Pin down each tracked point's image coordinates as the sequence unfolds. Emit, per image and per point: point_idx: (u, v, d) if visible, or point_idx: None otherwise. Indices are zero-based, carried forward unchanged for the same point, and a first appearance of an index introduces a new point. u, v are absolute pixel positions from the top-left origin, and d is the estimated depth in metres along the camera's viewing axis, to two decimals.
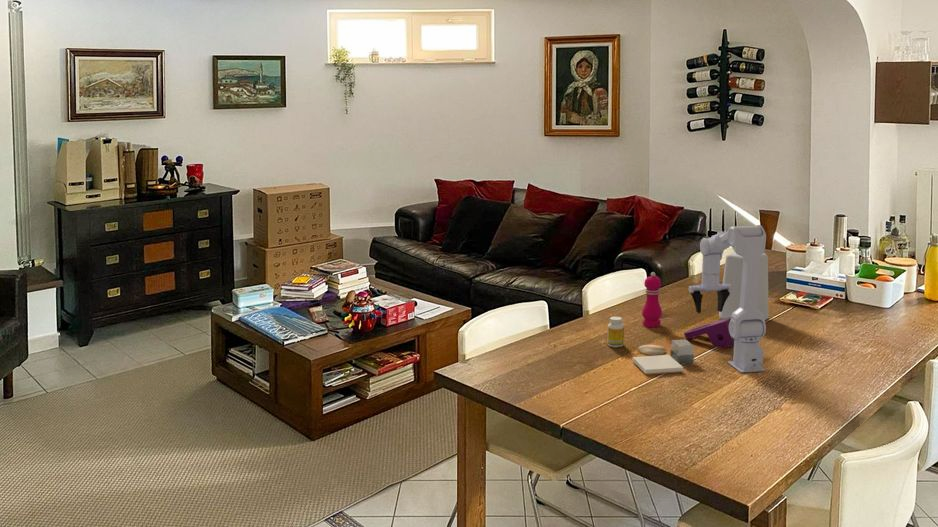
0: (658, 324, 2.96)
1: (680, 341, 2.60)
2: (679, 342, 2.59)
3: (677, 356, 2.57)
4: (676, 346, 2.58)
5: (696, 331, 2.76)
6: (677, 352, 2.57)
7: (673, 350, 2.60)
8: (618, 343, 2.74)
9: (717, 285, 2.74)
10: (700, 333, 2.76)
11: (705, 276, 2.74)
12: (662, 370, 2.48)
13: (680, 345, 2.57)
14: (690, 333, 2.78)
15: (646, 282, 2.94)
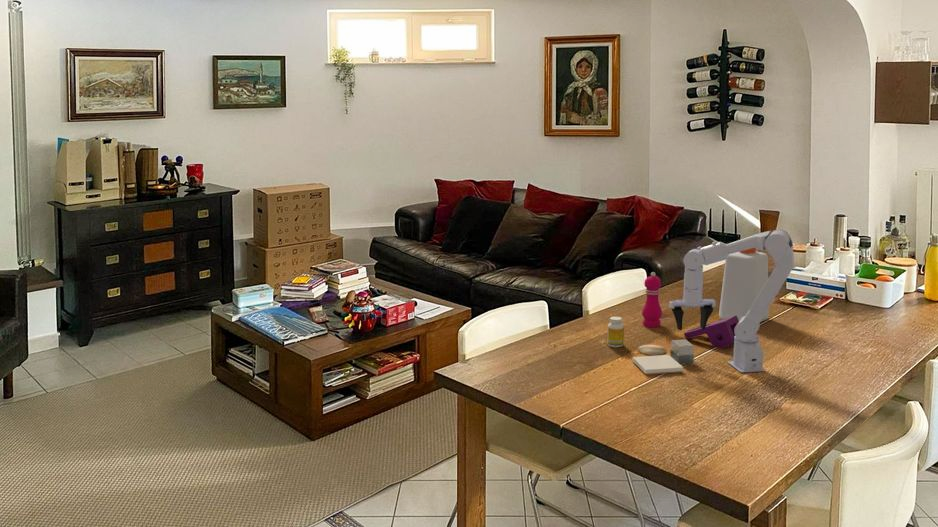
0: (658, 324, 2.96)
1: (680, 341, 2.60)
2: (679, 342, 2.59)
3: (677, 356, 2.57)
4: (676, 346, 2.58)
5: (696, 331, 2.76)
6: (677, 352, 2.57)
7: (673, 350, 2.60)
8: (618, 343, 2.74)
9: (699, 301, 2.55)
10: (700, 333, 2.76)
11: (687, 291, 2.55)
12: (662, 370, 2.48)
13: (680, 345, 2.57)
14: (690, 333, 2.78)
15: (646, 282, 2.94)
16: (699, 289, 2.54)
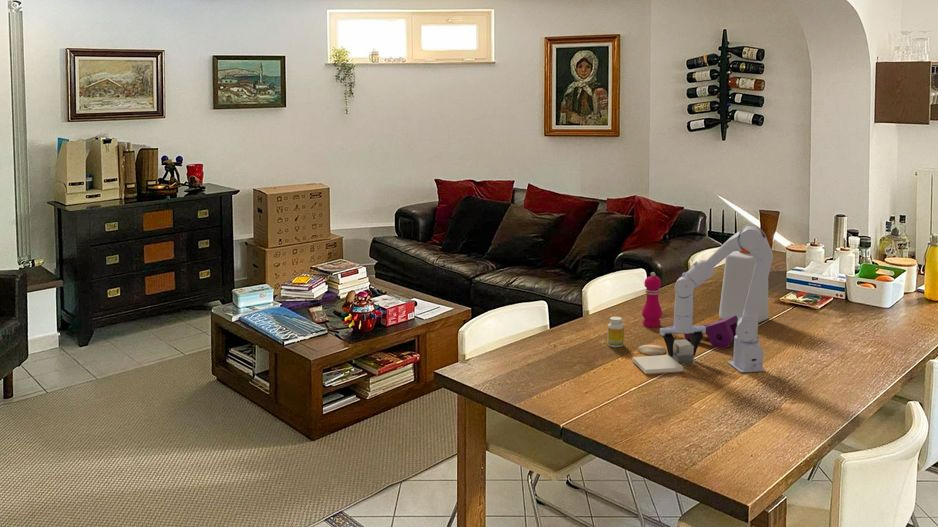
0: (658, 324, 2.96)
1: (680, 341, 2.60)
2: (679, 342, 2.59)
3: (677, 356, 2.57)
4: (676, 346, 2.58)
5: None
6: (677, 352, 2.57)
7: (673, 350, 2.60)
8: (618, 343, 2.74)
9: (690, 328, 2.56)
10: None
11: (677, 318, 2.55)
12: (662, 370, 2.48)
13: (680, 345, 2.57)
14: (689, 333, 2.78)
15: (646, 282, 2.94)
16: (689, 316, 2.55)
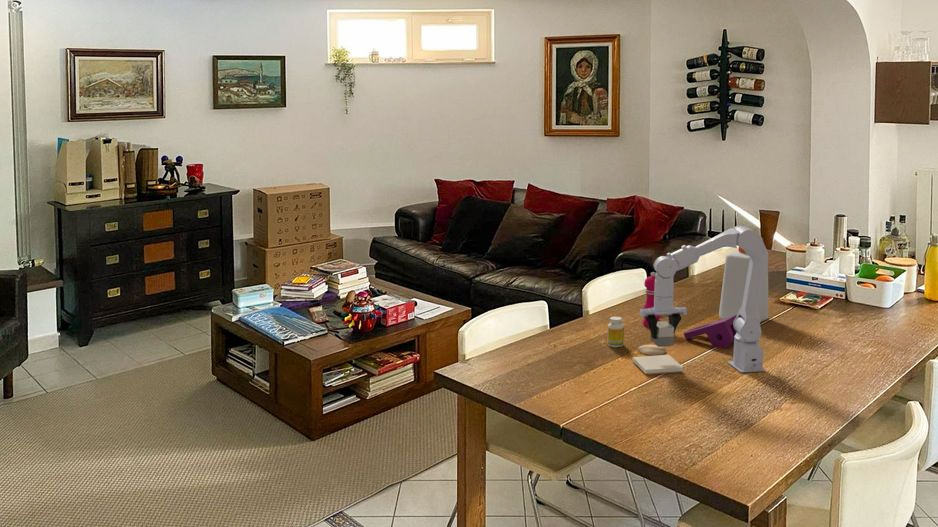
0: None
1: (660, 323, 2.54)
2: (659, 324, 2.53)
3: (657, 338, 2.51)
4: (656, 328, 2.51)
5: (695, 331, 2.76)
6: (657, 334, 2.51)
7: None
8: (618, 343, 2.74)
9: (670, 309, 2.49)
10: (699, 333, 2.76)
11: (657, 299, 2.49)
12: (662, 370, 2.48)
13: (660, 326, 2.50)
14: (689, 333, 2.78)
15: (646, 282, 2.94)
16: (670, 297, 2.48)
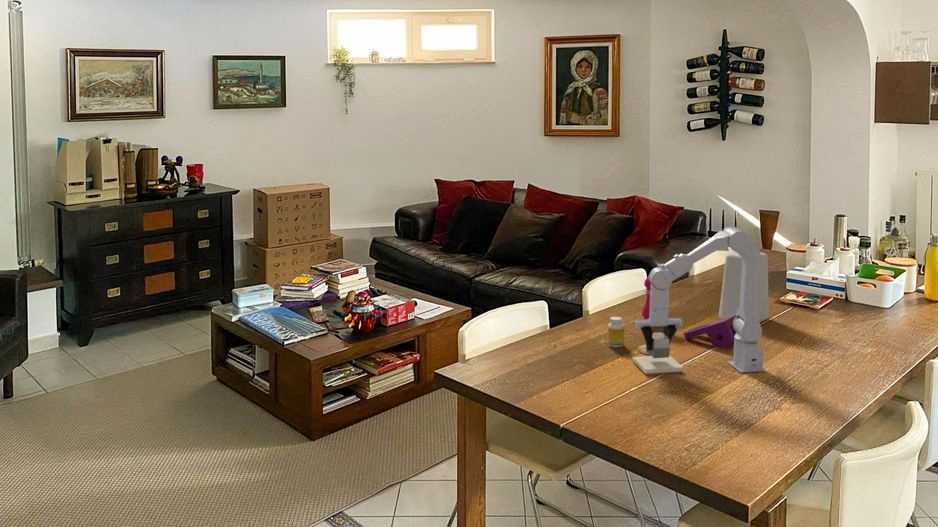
0: None
1: (656, 334, 2.53)
2: (654, 335, 2.52)
3: (652, 349, 2.50)
4: None
5: (696, 331, 2.76)
6: (652, 345, 2.50)
7: None
8: (618, 343, 2.74)
9: (666, 320, 2.49)
10: (700, 333, 2.76)
11: (652, 310, 2.48)
12: (662, 370, 2.48)
13: (655, 338, 2.50)
14: (690, 333, 2.78)
15: (646, 282, 2.94)
16: (665, 309, 2.48)
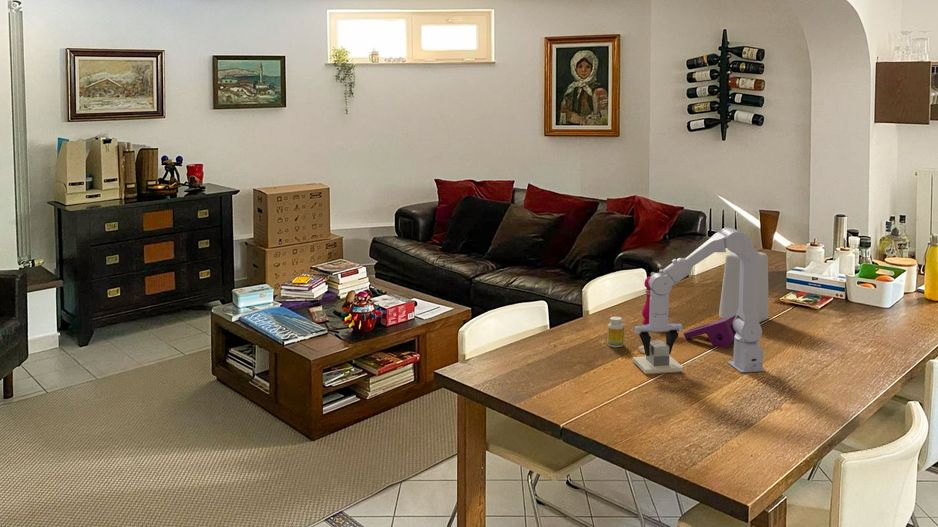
0: None
1: (656, 342, 2.54)
2: (654, 343, 2.53)
3: (652, 357, 2.51)
4: (651, 347, 2.51)
5: (696, 331, 2.77)
6: (652, 353, 2.51)
7: None
8: (618, 343, 2.74)
9: (666, 326, 2.49)
10: (700, 333, 2.76)
11: (652, 316, 2.49)
12: (662, 370, 2.48)
13: (655, 346, 2.50)
14: (690, 333, 2.78)
15: (646, 282, 2.94)
16: (665, 314, 2.48)
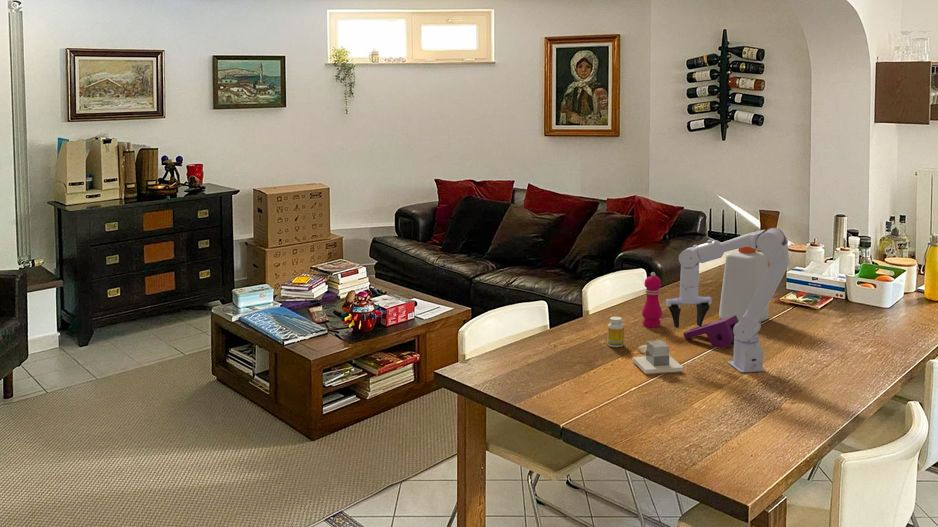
0: (658, 324, 2.96)
1: (656, 342, 2.54)
2: (654, 343, 2.53)
3: (652, 357, 2.51)
4: (651, 347, 2.51)
5: (695, 331, 2.77)
6: (652, 353, 2.51)
7: (648, 351, 2.54)
8: (618, 343, 2.74)
9: (696, 298, 2.57)
10: (699, 333, 2.76)
11: (683, 289, 2.57)
12: (662, 370, 2.48)
13: (655, 346, 2.50)
14: (689, 333, 2.78)
15: (646, 282, 2.94)
16: (695, 287, 2.56)
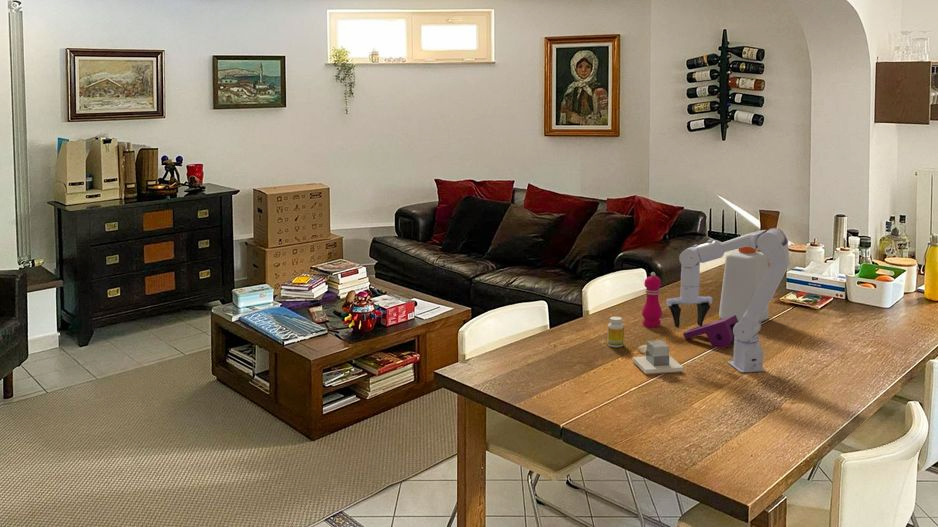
0: (658, 324, 2.96)
1: (656, 342, 2.54)
2: (654, 343, 2.53)
3: (652, 357, 2.51)
4: (651, 347, 2.51)
5: (695, 331, 2.77)
6: (652, 353, 2.51)
7: (648, 351, 2.54)
8: (618, 343, 2.74)
9: (696, 298, 2.57)
10: (699, 333, 2.76)
11: (684, 288, 2.57)
12: (662, 370, 2.48)
13: (655, 346, 2.50)
14: (689, 333, 2.78)
15: (646, 282, 2.94)
16: (696, 286, 2.56)
